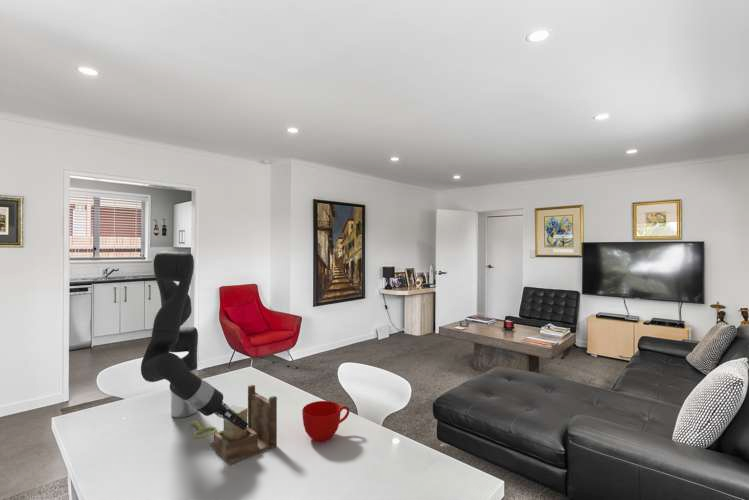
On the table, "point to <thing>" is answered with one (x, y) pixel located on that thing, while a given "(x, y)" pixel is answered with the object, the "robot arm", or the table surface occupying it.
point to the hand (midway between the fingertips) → (239, 422)
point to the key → (202, 429)
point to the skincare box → (230, 429)
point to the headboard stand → (251, 430)
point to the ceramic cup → (322, 419)
